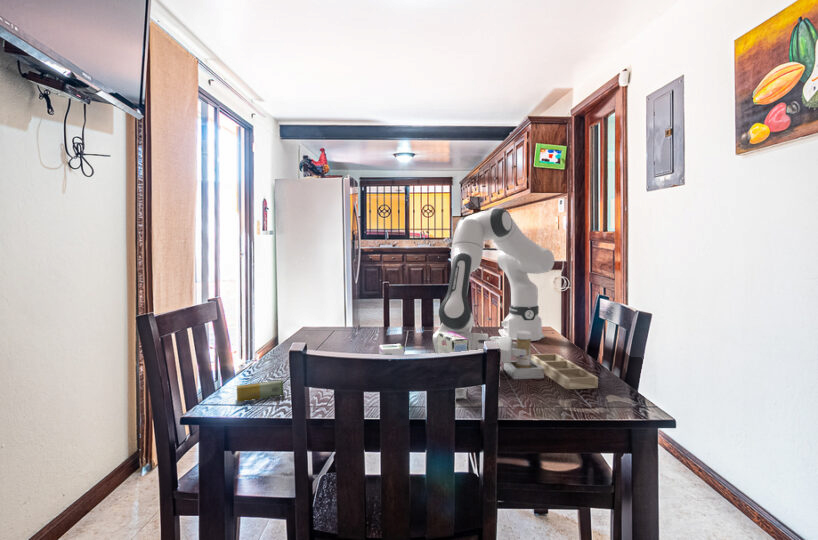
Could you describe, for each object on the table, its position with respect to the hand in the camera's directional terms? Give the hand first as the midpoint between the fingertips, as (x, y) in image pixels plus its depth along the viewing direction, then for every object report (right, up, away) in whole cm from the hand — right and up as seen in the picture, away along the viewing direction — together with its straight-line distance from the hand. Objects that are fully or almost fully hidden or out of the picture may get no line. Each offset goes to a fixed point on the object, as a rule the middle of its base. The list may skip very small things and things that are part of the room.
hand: (526, 349), depth 138 cm
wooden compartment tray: (+11, -8, 0) cm, 13 cm away
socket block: (-1, -8, +1) cm, 8 cm away
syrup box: (-42, -10, -20) cm, 47 cm away
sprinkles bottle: (-1, -8, +1) cm, 8 cm away
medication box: (-78, -10, -18) cm, 80 cm away
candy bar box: (-25, -9, -16) cm, 31 cm away
